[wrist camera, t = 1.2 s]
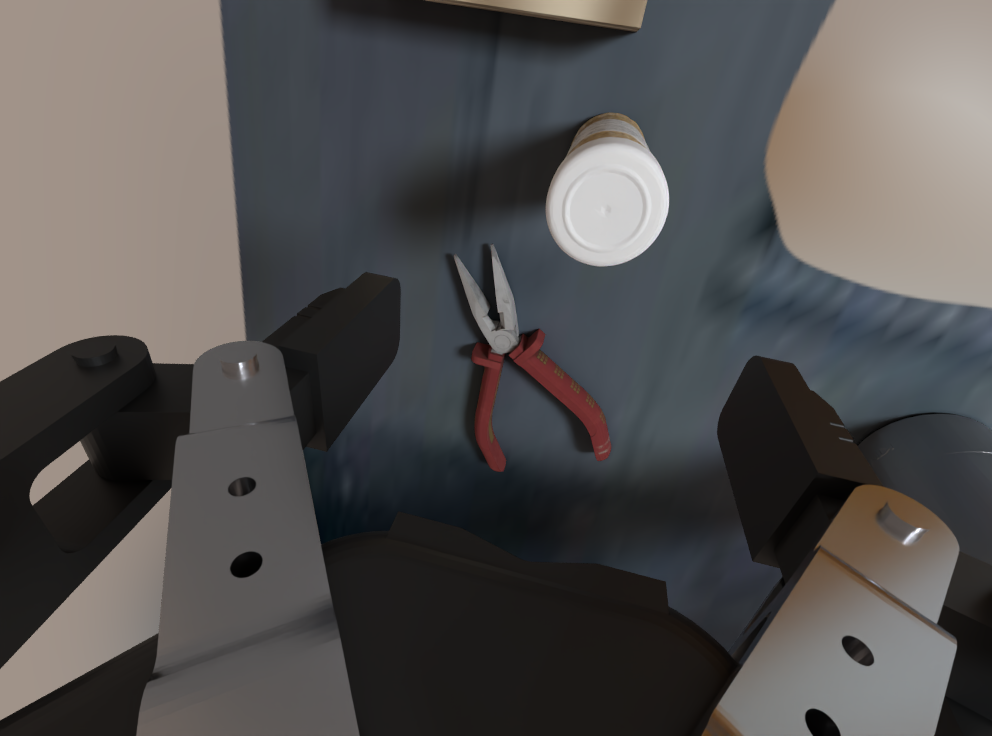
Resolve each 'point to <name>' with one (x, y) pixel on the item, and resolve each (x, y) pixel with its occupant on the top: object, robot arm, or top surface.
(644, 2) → the holder
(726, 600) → the top surface
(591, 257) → the sprinkles bottle
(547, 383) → the pliers
